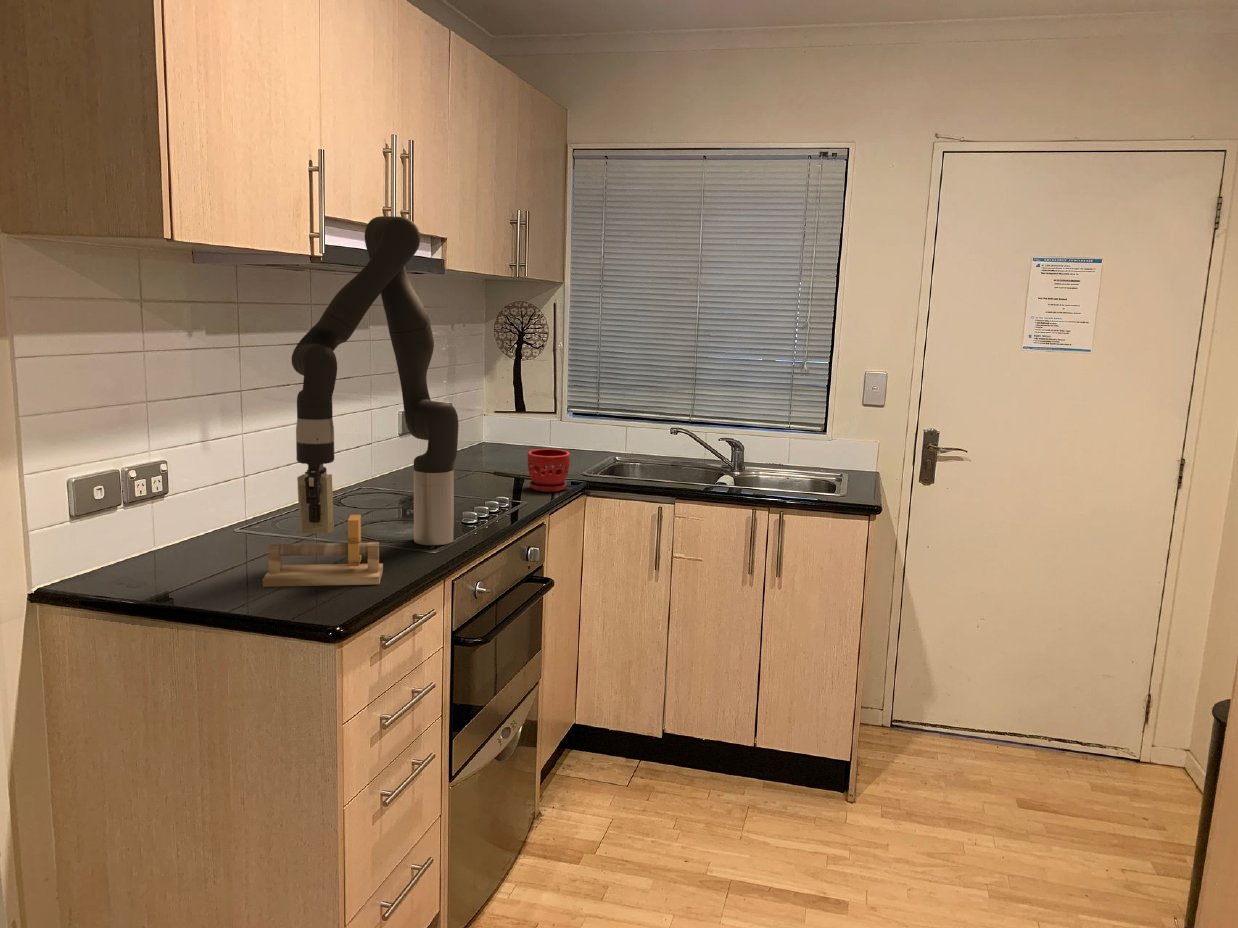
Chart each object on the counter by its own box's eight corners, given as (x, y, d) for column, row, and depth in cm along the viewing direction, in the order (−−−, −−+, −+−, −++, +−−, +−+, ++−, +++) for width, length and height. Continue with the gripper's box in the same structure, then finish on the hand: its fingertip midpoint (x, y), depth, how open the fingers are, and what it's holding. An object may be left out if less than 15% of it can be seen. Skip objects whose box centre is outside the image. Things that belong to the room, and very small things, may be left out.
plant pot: (519, 487, 284) (519, 450, 282) (554, 484, 292) (555, 447, 290) (541, 495, 274) (542, 456, 272) (577, 491, 282) (578, 453, 280)
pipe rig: (272, 572, 186) (271, 529, 185) (382, 570, 190) (382, 528, 189) (262, 586, 177) (261, 541, 175) (379, 584, 181) (378, 540, 179)
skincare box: (334, 530, 194) (333, 473, 193) (328, 534, 190) (328, 477, 188) (303, 529, 194) (303, 472, 192) (297, 533, 190) (296, 476, 188)
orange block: (351, 558, 186) (350, 514, 185) (361, 558, 187) (360, 514, 185) (348, 566, 181) (347, 520, 180) (358, 566, 181) (358, 520, 180)
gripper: (329, 444, 183) (330, 527, 186) (338, 435, 197) (338, 512, 199) (290, 444, 181) (292, 527, 184) (301, 434, 195) (303, 512, 198)
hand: (316, 519), depth 192 cm, fingers closed on skincare box, 4 cm apart
